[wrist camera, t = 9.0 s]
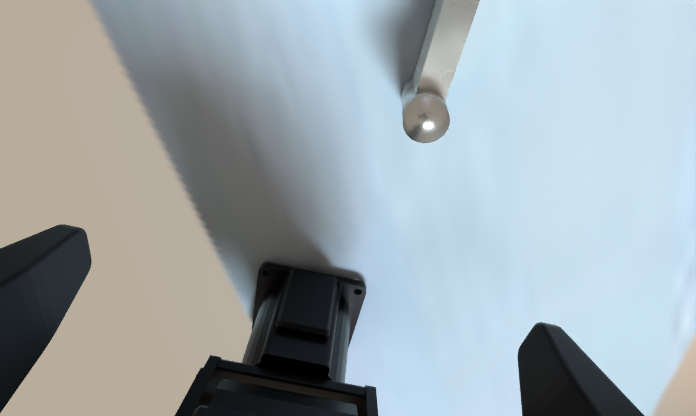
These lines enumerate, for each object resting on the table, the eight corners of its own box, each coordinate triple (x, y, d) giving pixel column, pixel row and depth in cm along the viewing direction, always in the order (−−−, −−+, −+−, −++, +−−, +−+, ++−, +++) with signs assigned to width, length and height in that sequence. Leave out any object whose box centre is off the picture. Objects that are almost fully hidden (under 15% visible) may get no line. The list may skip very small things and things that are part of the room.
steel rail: (434, 117, 20) (441, 147, 18) (246, 75, 20) (225, 98, 17) (497, -66, 16) (516, -61, 13) (259, -125, 15) (234, -132, 13)
